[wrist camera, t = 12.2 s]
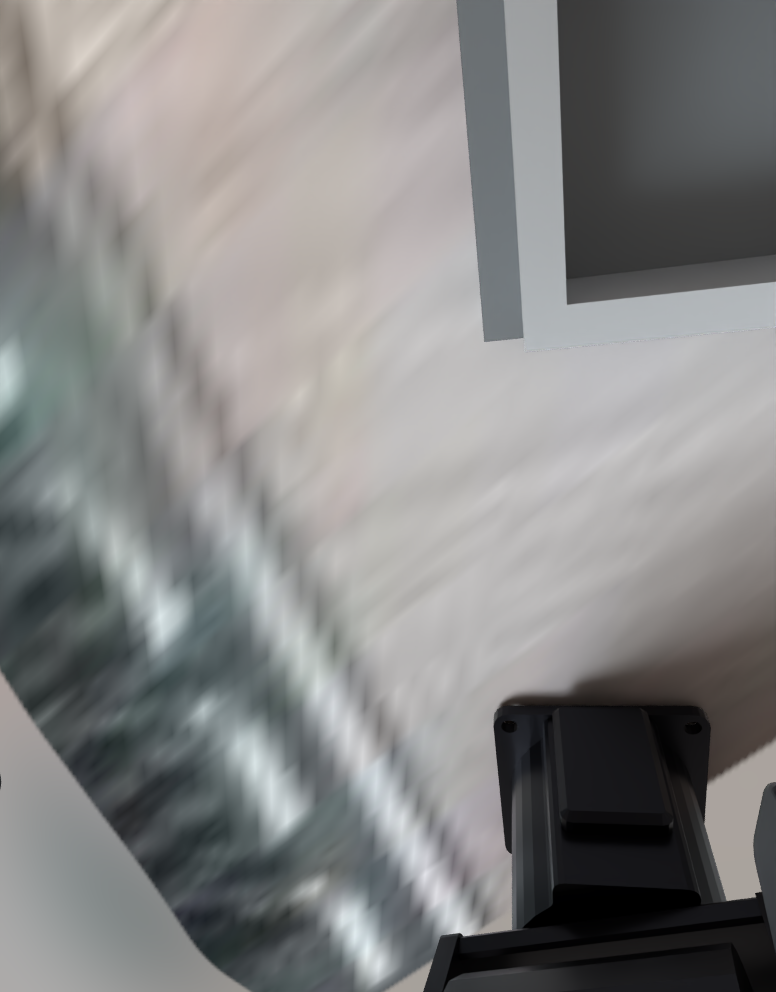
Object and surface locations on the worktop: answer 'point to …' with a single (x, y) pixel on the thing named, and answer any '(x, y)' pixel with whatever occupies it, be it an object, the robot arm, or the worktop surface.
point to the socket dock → (621, 167)
